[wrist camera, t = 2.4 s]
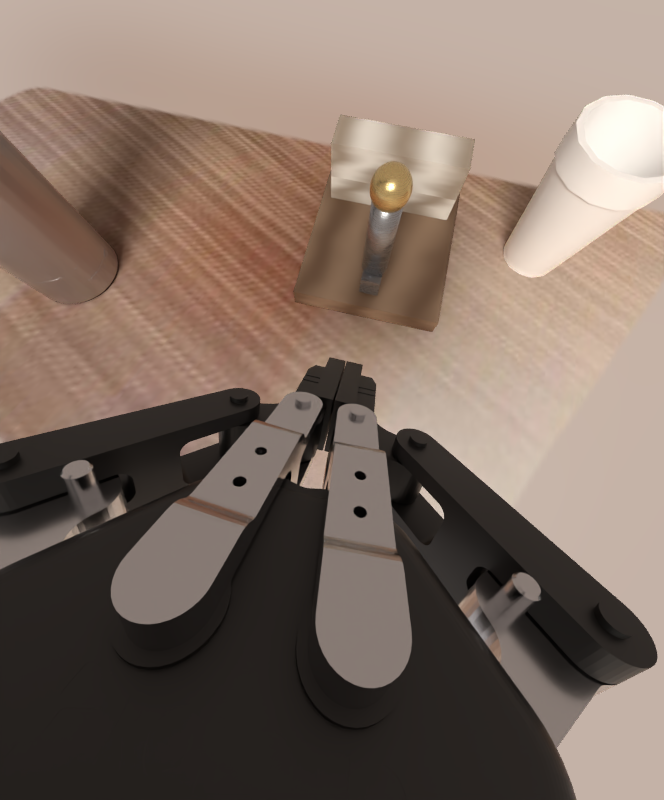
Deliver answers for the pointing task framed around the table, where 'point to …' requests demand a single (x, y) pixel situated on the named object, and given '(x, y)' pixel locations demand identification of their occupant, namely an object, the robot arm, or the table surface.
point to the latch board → (417, 232)
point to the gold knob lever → (383, 220)
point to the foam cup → (591, 182)
